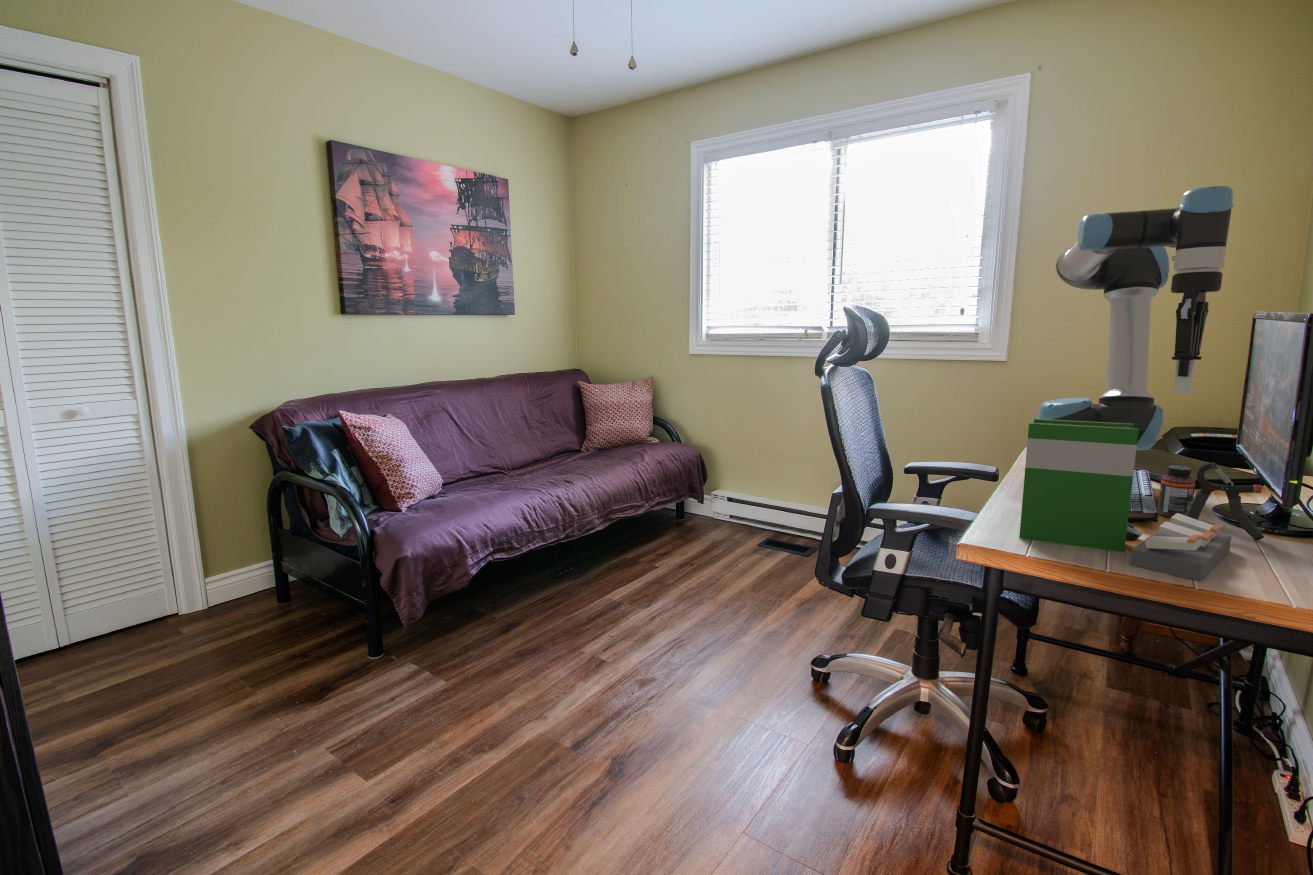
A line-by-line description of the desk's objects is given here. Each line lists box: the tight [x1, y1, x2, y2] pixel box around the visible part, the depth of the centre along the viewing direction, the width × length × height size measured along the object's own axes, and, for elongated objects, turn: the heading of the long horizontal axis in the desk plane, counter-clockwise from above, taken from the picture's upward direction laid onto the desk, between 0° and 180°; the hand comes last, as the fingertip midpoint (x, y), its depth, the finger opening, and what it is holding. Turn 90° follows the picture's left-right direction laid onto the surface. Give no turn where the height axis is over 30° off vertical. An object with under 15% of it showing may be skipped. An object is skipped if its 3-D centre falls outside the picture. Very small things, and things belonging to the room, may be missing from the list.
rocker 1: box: [1145, 535, 1202, 550], centre depth 114 cm, size 4×7×2 cm, turn 39°
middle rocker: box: [1157, 521, 1213, 547], centre depth 118 cm, size 4×7×2 cm, turn 39°
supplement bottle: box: [1157, 464, 1196, 519], centre depth 144 cm, size 6×6×11 cm
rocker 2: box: [1168, 513, 1223, 539], centre depth 123 cm, size 4×7×2 cm, turn 39°
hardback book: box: [1018, 417, 1139, 553], centre depth 128 cm, size 18×7×24 cm, turn 60°
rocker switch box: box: [1130, 530, 1233, 582], centre depth 121 cm, size 27×10×3 cm, turn 129°
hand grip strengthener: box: [1186, 462, 1265, 542], centre depth 129 cm, size 2×12×15 cm, turn 51°
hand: (1182, 392), depth 128 cm, fingers closed
